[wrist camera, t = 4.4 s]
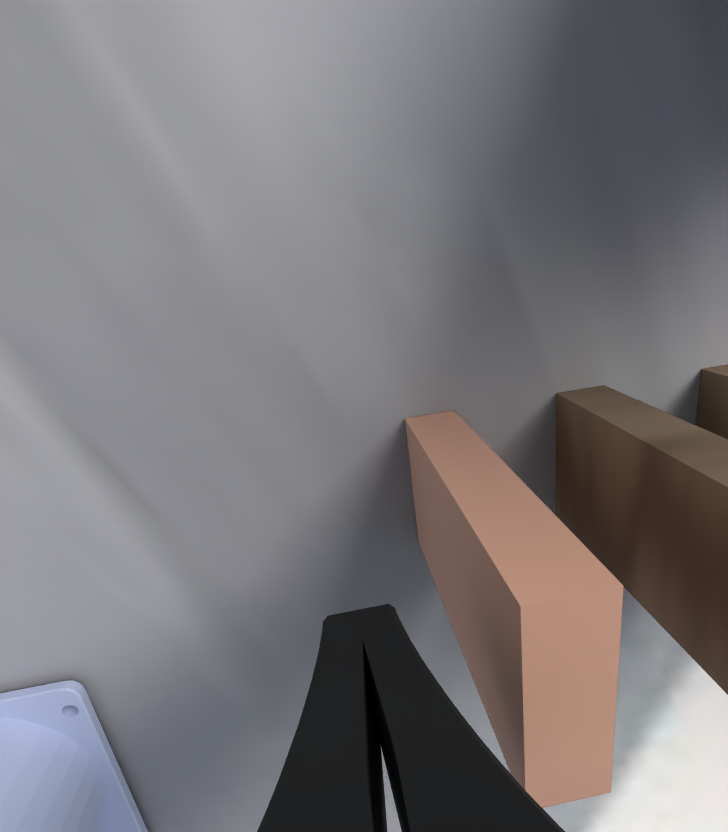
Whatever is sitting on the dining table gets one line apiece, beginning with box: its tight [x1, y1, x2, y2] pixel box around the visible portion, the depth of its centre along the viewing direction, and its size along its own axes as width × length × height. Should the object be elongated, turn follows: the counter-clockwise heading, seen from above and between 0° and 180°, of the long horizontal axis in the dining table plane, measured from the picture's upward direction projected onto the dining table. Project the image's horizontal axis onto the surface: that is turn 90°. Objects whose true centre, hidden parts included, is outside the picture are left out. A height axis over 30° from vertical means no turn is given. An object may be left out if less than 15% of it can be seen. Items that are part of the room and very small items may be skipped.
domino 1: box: [405, 410, 624, 808], centre depth 12 cm, size 5×2×8 cm, turn 8°
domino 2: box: [556, 385, 728, 694], centre depth 12 cm, size 5×2×8 cm, turn 8°
